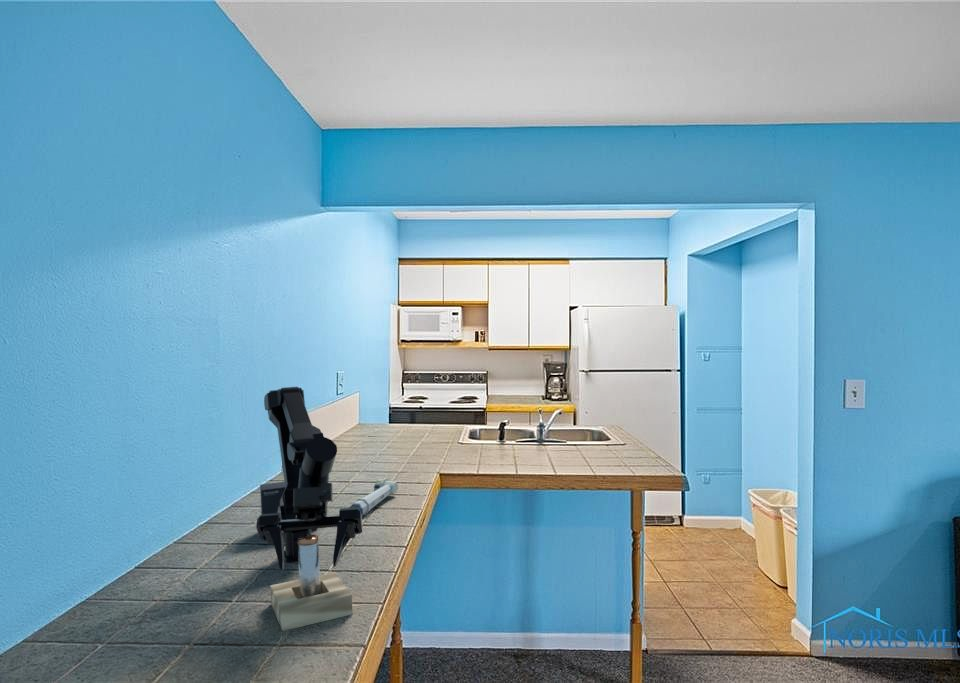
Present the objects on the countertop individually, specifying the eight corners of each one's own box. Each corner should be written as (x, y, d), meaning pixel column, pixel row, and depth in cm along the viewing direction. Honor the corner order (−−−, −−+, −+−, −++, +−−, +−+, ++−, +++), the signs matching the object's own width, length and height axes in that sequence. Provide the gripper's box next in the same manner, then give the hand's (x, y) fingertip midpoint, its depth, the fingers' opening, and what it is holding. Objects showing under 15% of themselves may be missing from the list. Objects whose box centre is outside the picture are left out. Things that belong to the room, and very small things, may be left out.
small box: (314, 522, 165) (313, 477, 165) (317, 530, 159) (316, 483, 159) (261, 530, 161) (259, 483, 160) (262, 538, 154) (260, 489, 154)
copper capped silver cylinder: (298, 607, 115) (295, 536, 115) (318, 602, 117) (315, 533, 116) (302, 615, 112) (299, 542, 111) (323, 610, 113) (320, 538, 113)
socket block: (271, 604, 117) (270, 585, 117) (335, 589, 122) (334, 571, 122) (282, 631, 106) (281, 610, 106) (352, 614, 112) (351, 594, 111)
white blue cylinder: (362, 501, 167) (402, 476, 191) (340, 500, 169) (382, 475, 193) (363, 521, 167) (403, 493, 191) (341, 519, 169) (383, 492, 193)
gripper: (256, 471, 116) (244, 551, 105) (359, 464, 119) (358, 542, 108) (266, 502, 124) (256, 579, 113) (362, 495, 127) (362, 570, 116)
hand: (308, 567), depth 113 cm, fingers open, 9 cm apart
